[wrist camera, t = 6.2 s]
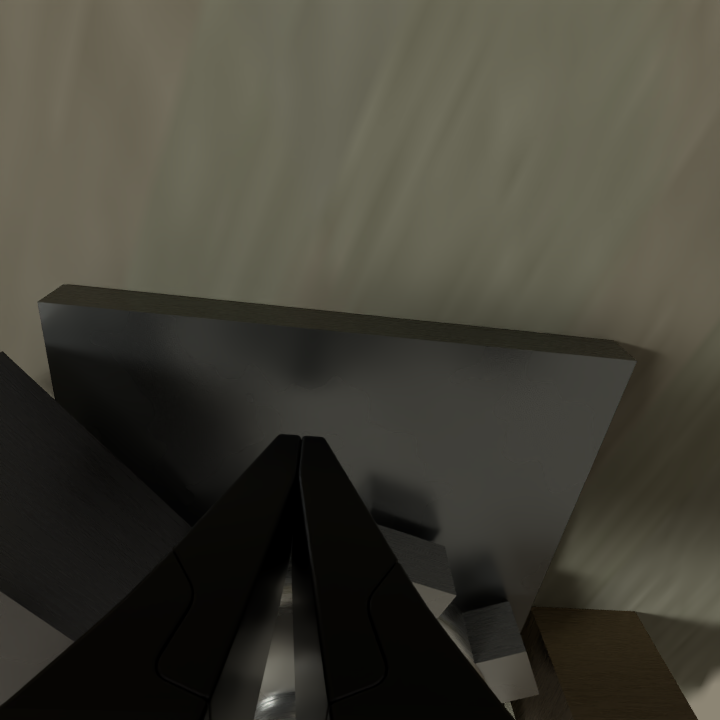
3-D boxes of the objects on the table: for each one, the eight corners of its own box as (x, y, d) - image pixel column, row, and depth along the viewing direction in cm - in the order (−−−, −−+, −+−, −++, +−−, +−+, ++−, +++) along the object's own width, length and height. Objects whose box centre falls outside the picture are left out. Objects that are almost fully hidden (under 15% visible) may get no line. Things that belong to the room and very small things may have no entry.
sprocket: (580, 700, 16) (645, 860, 13) (263, 812, 19) (247, 968, 15) (223, 200, 8) (147, 267, 5) (-228, 505, 11) (-474, 683, 8)
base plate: (430, 802, 21) (434, 834, 20) (141, 799, 20) (132, 833, 19) (613, 340, 11) (638, 362, 10) (63, 284, 10) (35, 302, 9)
